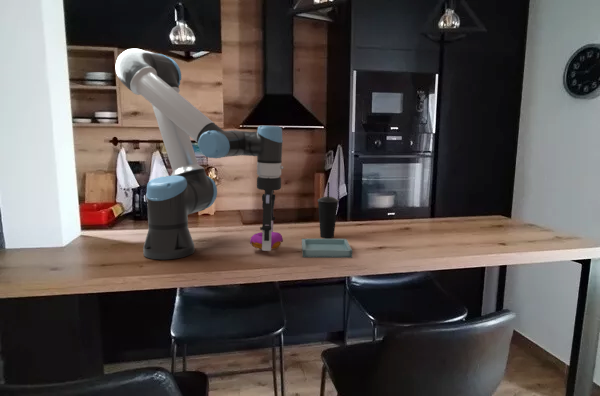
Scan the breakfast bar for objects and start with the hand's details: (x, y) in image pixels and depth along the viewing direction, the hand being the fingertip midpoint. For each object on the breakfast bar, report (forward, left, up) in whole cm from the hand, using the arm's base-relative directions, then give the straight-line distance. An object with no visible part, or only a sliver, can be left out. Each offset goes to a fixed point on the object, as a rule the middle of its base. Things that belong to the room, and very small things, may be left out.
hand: (267, 245), depth 133 cm
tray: (+19, +1, -2) cm, 19 cm away
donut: (0, 0, -1) cm, 1 cm away
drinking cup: (+21, +19, -2) cm, 28 cm away
